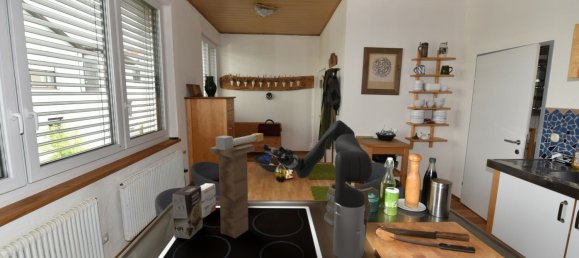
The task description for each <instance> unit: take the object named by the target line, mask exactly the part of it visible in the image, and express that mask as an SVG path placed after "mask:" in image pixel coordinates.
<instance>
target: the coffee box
mask: <svg viewBox="0 0 579 258" xmlns="http://www.w3.org/2000/svg"><path fill="white" fill-rule="evenodd" d="M171 198H172V214H173V215H172V216H173V237H174V238H180V239H186V240H190V239H191V238H193V237H194V236H195V235H196V234H197V233H198V232H199V231H200V230H201V229H202V228H203V227H204V226H203V225H204V224H203V218H202V195H201V187H200V186H198V185H186V186H184V187H181V188H180V189H178V190H176V191H175V192H173V193H172V197H171Z"/></svg>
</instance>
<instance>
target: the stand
mask: <svg viewBox="0 0 579 258" xmlns="http://www.w3.org/2000/svg"><path fill="white" fill-rule="evenodd" d="M255 149H256V148H255V144H249V143H245V144H241V145H237V146H233V148H231V149H227V150H220V149H216V145H215V146H213V147H209V154H210V155H211V154H212V155H215V156H216V155H217V156H218V177H219V178H218V179H219V181H218V183H219V211H220V212H219V213H220V215H219V216H220V219H219V220H220V234H222V235H225V236H228V237H231V238H233V239H237V238H239V237H240V236H241V235H242V234H244V233H246V232H247V231H249V201H248V200H249V195H248V194H249V193H248V192H249V191H248V189H249V187H248V186H249V185H248V153H251V152H254V151H255Z"/></svg>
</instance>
